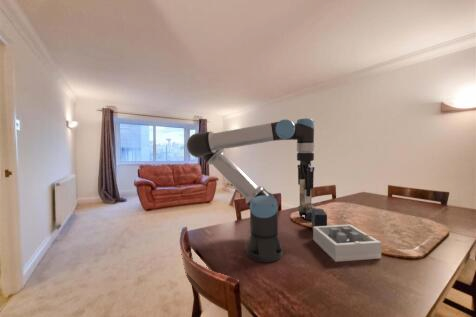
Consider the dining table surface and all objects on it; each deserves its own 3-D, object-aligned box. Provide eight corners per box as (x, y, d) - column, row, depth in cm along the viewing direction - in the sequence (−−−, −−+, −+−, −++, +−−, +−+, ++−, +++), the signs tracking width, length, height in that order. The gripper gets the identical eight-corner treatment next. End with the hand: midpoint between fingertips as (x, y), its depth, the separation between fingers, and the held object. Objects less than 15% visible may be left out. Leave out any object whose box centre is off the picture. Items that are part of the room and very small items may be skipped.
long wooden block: (301, 213, 92) (301, 181, 91) (296, 209, 98) (296, 179, 97) (314, 213, 92) (314, 180, 92) (308, 209, 98) (308, 178, 98)
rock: (295, 212, 130) (303, 199, 128) (307, 218, 133) (315, 205, 131) (303, 222, 119) (312, 208, 118) (316, 227, 122) (325, 214, 121)
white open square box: (335, 261, 78) (335, 244, 78) (313, 239, 97) (313, 225, 97) (381, 258, 80) (381, 241, 79) (350, 237, 99) (350, 223, 98)
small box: (327, 235, 102) (327, 214, 101) (314, 234, 103) (314, 214, 103) (323, 227, 112) (323, 208, 112) (311, 226, 114) (311, 208, 113)
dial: (340, 253, 80) (340, 239, 80) (322, 237, 94) (322, 225, 94) (370, 250, 81) (370, 237, 81) (348, 235, 95) (348, 224, 95)
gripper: (322, 152, 86) (321, 206, 87) (305, 151, 103) (305, 197, 104) (305, 152, 85) (305, 207, 86) (291, 152, 102) (291, 197, 103)
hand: (305, 201), depth 95 cm, fingers closed on long wooden block, 4 cm apart
